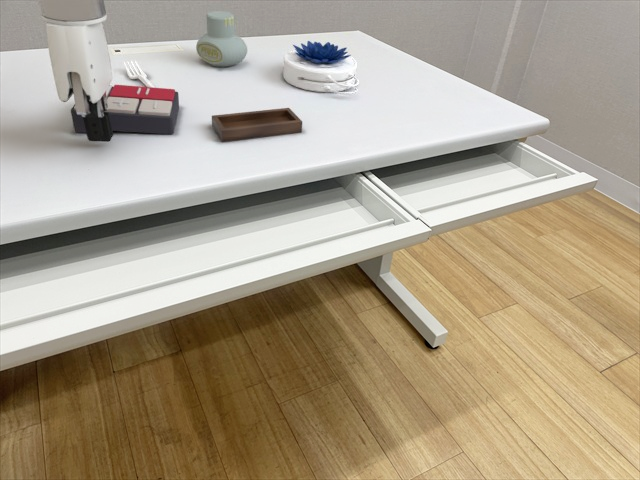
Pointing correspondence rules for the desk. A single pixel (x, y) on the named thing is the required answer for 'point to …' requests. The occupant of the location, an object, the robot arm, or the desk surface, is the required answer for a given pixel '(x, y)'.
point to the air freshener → (221, 41)
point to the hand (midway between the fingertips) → (100, 138)
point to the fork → (141, 76)
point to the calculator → (138, 110)
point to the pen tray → (256, 124)
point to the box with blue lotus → (320, 68)
